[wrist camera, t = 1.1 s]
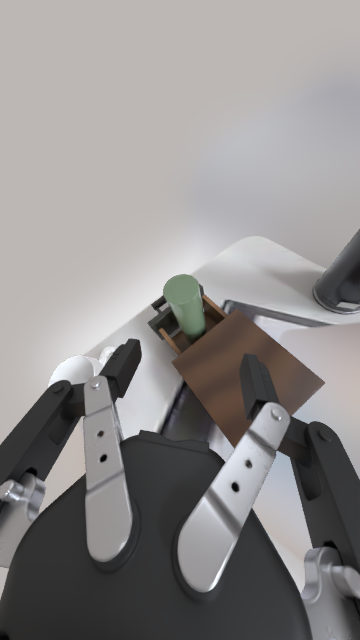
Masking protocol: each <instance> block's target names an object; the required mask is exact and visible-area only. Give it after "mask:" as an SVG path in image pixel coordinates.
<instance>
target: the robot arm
mask: <svg viewBox="0 0 360 640" xmlns="http://www.w3.org/2000/svg"><path fill="white" fill-rule="evenodd" d="M313 294H314V297H315V299H316V300H317V302H318V303H319V304H320V305H322V306H323V307H324V308H326V309H328V310H330V311H332V312H336V313H340V314H354V313H358V312H360V229H359V230H358V232H357V233H356V234H355V235H354V237H353V238H352V239H351V241H350V242H349V243H348V244H347V246H346V247H345V248H344V250H343V251H342V252H341V253H340V254H339V256H338V257H337V258H336V259H335V261H334V262H333V263H332V264H331V266H330V267H329V268H328V270H327V271H326V272H325V273H324V274H323V276H322V277H321V278H320V279H319V280H318V281H317V282H316V284H315V285H314V288H313ZM141 357H142V353H141V346H140V341H139V340H137V339H128V341H127V342H126V344H125V345H124V344H122V345H120V346H119V347H118V348H116V350H115V351H114V353H113V355H112V356H111V357H110V359H109V360H108V362H107V363H106V364H105V366H104V367H103V369H102V370H101V372H100V373H99V375H98V376H94V377H92V378H90V379H89V380H88V381H87V382H86V383H80V384H73V385H72V384H71V382H70V381H68V380H60V381H57V382H55V383H53V384H52V385H51V386H50V387H49V388H48V389H47V390H46V391H45V392H44V394H43V395H42V396H41V397H40V398H39V399H38V401H37V402H36V403H35V404H34V405H33V407H32V408H31V409H30V410H29V411H28V413H27V414H26V415H25V416H24V417H23V419H22V420H21V421H20V422H19V423H18V424H17V426H16V427H15V428H14V429H13V430H12V432H11V433H10V434H9V435H8V436H7V438H6V439H5V440H4V441H3V442H2V444H1V445H0V567H4V568H9V571H8V574H7V579H6V582H5V586H4V590H3V593H2V596H1V600H0V640H360V480H359V478H358V476H357V474H356V472H355V470H354V468H353V465H352V463H351V461H350V459H349V457H348V455H347V453H346V451H345V449H344V447H343V445H342V443H341V441H340V439H339V437H338V436H337V434H336V433H335V432H334V431H333V430H332V429H331V428H330V427H328V426H327V425H325V424H323V423H321V422H316V421H314V422H311V423H310V424H307V423H305V422H302V421H300V420H298V419H296V418H294V417H292V416H290V415H289V413H288V412H287V411H286V409H285V408H284V407H282V406H281V405H280V402H279V399H278V396H277V393H276V390H275V387H274V385H273V382H272V379H271V377H270V373H269V370H268V368H267V367H266V366H265V364H264V363H262V362H258V359H257V356H256V354H248V353H244V356H243V359H242V362H241V365H240V369H239V376H240V382H241V389H242V395H243V402H244V408H245V415H246V420H250V421H252V424H251V426H250V427H249V429H248V430H247V431H246V432H245V434H244V435H243V437H242V438H241V440H240V441H239V443H238V444H237V446H236V447H235V449H234V451H233V452H232V454H231V455H230V457H229V458H228V460H227V461H226V463H225V461H224V460H223V459H222V458H221V457H220V456H219V455H218V454H217V453H216V452H214V451H213V450H211V449H209V443H207V442H202V441H197V440H183V441H171V440H169V439H167V438H165V437H163V436H162V435H160V434H158V433H155V432H150V431H144V430H140V433H139V435H135V436H132V437H129V438H127V439H125V440H124V437H123V433H122V430H121V426H120V421H119V417H118V412H117V408H116V403H115V402H116V400H117V398H118V397H119V398H123V397H124V395H125V393H126V391H127V388H128V386H129V384H130V382H131V380H132V378H133V376H134V374H135V371H136V369H137V367H138V365H139V363H140V361H141ZM81 416H85V417H84V418H83V430H84V447H85V465H86V473H85V474H84V475H83V476H82V477H81V478H80V479H78V480H77V481H76V482H75V483H74V484H73V485H72V486H71V487H70V488H69V489H67V490H66V491H65V492H64V493H63V494H62V495H60V496H59V497H58V498H57V499H56V500H55V501H54V502H53V503H51V504H50V505H49V506H48V507H47V508H46V509H45V510H44V511H43V512H42V513H40V514H39V508H40V506H41V504H42V501H43V498H44V495H45V489H46V487H45V484H44V481H45V479H46V477H47V476H48V474H49V472H50V470H51V469H52V466H53V465H54V463H55V462H56V460H57V458H58V456H59V455H60V453H61V451H62V449H63V447H64V446H65V444H66V442H67V440H68V439H69V437H70V435H71V433H72V432H73V430H74V428H75V426H76V425H77V423H78V421H79V419H80V418H81ZM276 451H279V452H281V453H283V454H285V455H287V456H289V457H290V460H291V464H292V467H293V472H294V476H295V480H296V483H297V488H298V491H299V495H300V499H301V503H302V507H303V511H304V515H305V519H306V523H307V527H308V531H309V534H310V538H311V543H312V546H313V549H310V550H309V551H307V553H306V555H305V559H304V568H305V587H304V590H303V592H302V593H301V594H300V592H299V590H298V588H297V586H296V584H295V582H294V580H293V578H292V576H291V574H290V573H289V571H288V569H287V567H286V566H285V564H284V562H283V560H282V559H281V557H280V555H279V554H278V552H277V550H276V548H275V547H274V545H273V543H272V541H271V540H270V538H269V536H268V534H267V533H266V531H265V529H264V528H263V526H262V524H261V522H260V521H259V519H258V517H257V515H256V514H255V512H254V510H253V509H252V506H253V504H254V501H255V499H256V497H257V495H258V493H259V491H260V489H261V487H262V485H263V483H264V480H265V478H266V476H267V474H268V472H269V470H270V468H271V465H272V464H273V461H274V459H275V457H276Z"/></svg>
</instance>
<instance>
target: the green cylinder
mask: <svg viewBox="0 0 360 640" xmlns="http://www.w3.org/2000/svg"><path fill="white" fill-rule="evenodd" d="M163 294H164V297H165V299H166V301H167V303H168V305H169V307H170V309H171V311H172V313H173V315H174V317H175V319H176V321H177V322H178V324H179V326H180V328H181V330H182V332H183V334H184V336H185V338H186V340H187V341H188V343H190V344H191V345H193V344H194V343H195V342H196V341H198V340H199V339H200V338H201V337H203V336H204V335H205V334H206V333H207V328H206V322H205V317H204V311H203V305H202V300H201V294H200V288H199V284H198V281H197V280H196V279H195V278H194V277H192V276H190V275H186V274H182V275H177V276H174V277H172V278H171V279H170V280H168V281H167V283H166V284H165V286H164V289H163Z"/></svg>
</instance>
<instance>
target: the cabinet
mask: <svg viewBox="0 0 360 640" xmlns="http://www.w3.org/2000/svg"><path fill="white" fill-rule="evenodd" d="M244 353H248V354H256V356H257V359H258V362H262V363H264V364H265V366H266V367H267V368H268V370H269V373H270V377H271V379H272V382H273V385H274V387H275V390H276V393H277V396H278V399H279V402H280V405H281V406H282V407H284V408H285V409H286V411H287V412H288V413H289V415H290V416H292V415H293V414H294V413H295V412H296V411H297V410H298V409H299V408H300V407H301V406H302V405H303V404H304V403H305V402H306V401H307V400H308V399H309V398H310V397H311V396H312V395H313V394H314V393H315V392H316V391H318V390H319V388H321V387H322V386H323V385H324V384H325V382H324V381H323V380H322V379H320V378H319V377H318V376H317V375H315V374H314V373H313V372H312V371H311V370H310V369H308V368H307V367H306V366H305V365H304V364H302V363H301V362H300V361H299V360H298V359H297V358H295V357H294V356H293V355H292V354H290V353H289V352H288V351H287V350H286V349H285V348H283V347H282V346H281V345H280V344H279V343H277V342H276V341H275V340H274V339H273V338H271V337H270V336H269V335H268V334H267V333H265V332H264V331H263V330H262V329H261V328H259V327H258V326H257V325H256V324H255V323H254V322H252V321H251V320H250V319H249V318H248V317H246V316H245V315H244V314H243V313H242V312H240V311H239V310H238V309H236V310H234V311H233V312H232V313H231V314H230V315H228V316H227V317H226V318H225V319H223V320H222V321H221V322H220V323H219V324H217V325H216V326H215V327H214V328H212V329H211V330H210V331H209V332H207V333H206V334H205V335H204V336H203V337H201V338H200V339H199V340H198V341H196V342H195V343H194V344H193V345H192V346H190V347H189V348H188V349H187V350H185V351H184V352H183V353H182V354H181V355H179V356H178V357H177V358H176V359H174V360H173V361H172V364H173V365H174V366H175V368H176V369H177V370H178V372H179V373H180V375H181V376H182V377H183V379H184V380H185V381H186V383H187V384H188V386H189V387H190V388H191V390H192V391H193V392H194V394H195V395H196V397H197V398H198V399H199V401H200V402H201V403H202V405H203V406H204V407H205V409H206V410H207V412H208V413H209V414H210V416H211V417H212V418H213V420H214V421H215V423H216V424H217V425H218V427H219V428H220V429H221V431H222V432H223V434H224V435H225V436H226V438H227V439H228V440H229V442H230V443H231V445H232V446H233V447H234V449H235V447H236V446H237V444H238V443H239V441H240V440H241V438H242V437H243V435H244V434H245V432H246V431H247V430H248V429H249V427H250V426H251V424H252V421H250V420H246V415H245V408H244V402H243V395H242V389H241V382H240V376H239V369H240V365H241V362H242V359H243V356H244Z"/></svg>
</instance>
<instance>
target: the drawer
mask: <svg viewBox="0 0 360 640" xmlns="http://www.w3.org/2000/svg"><path fill="white" fill-rule="evenodd" d="M199 288H200V294H201V300H202V305H203V308H204V317H205V322H206V328H207V332H209V331H210V330H211V329H212V328H214V327H215V326H216V325H217V324H219V323H220V322H221V321H222V320H223V319H225V318H226V317H227V316H228V315H227V314H226V313H225V312H224V311H223V310H222V309H221V308H219V307H218V306H217V305H216V304H215V303H214V302H213V301H212V300H210V299H209V298H208V297H207V296H206V295H204V291H203V286H201V285H200V284H199ZM165 303H167V301H166V299H165V297H164V295H163V296H162V297H161V298H159V299H158V300H157V301H155V302H154V303H153V304H151V306H152V307H153V308H154V310H155V311H156V310H157V312H158V313H159V314H158V315H157V316H156V317H154V318H153V319H152V320H151V321H149V322H148V325H149V326H150V327H151V328H152V329H153V331H154V332H155V333H156V334H157V335H158V336H159V337H160V338H161V340H164V339H166V341H167V342H168V343H169V345H170V346H171V347H172V349H173V350H174V351H175V352H176V354H177V355H178V356H179V355H181V354H182V353H183V352H184V351H185V350H187V349H188V348H189V347H190V346H192V345H191V344H190V343H188V341H187V340H186V338H185V336H184V334H183V332H182V330H181V331H180V332H179V333H177V334H176V335H175V336H174V337H172V338H170V337H169V335H170V334H171V333H173V332H174V331H175V330H176V329H178V328H179V327H180V326H179V324H178V322H177V321H176V319H175V317H174V315H173V313H172V311H171V309H170V307H168V308H166V309H165V310H164V311H162V312H161V310H160V309H159V308H160V307H161V306H163V305H164V304H165Z"/></svg>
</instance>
